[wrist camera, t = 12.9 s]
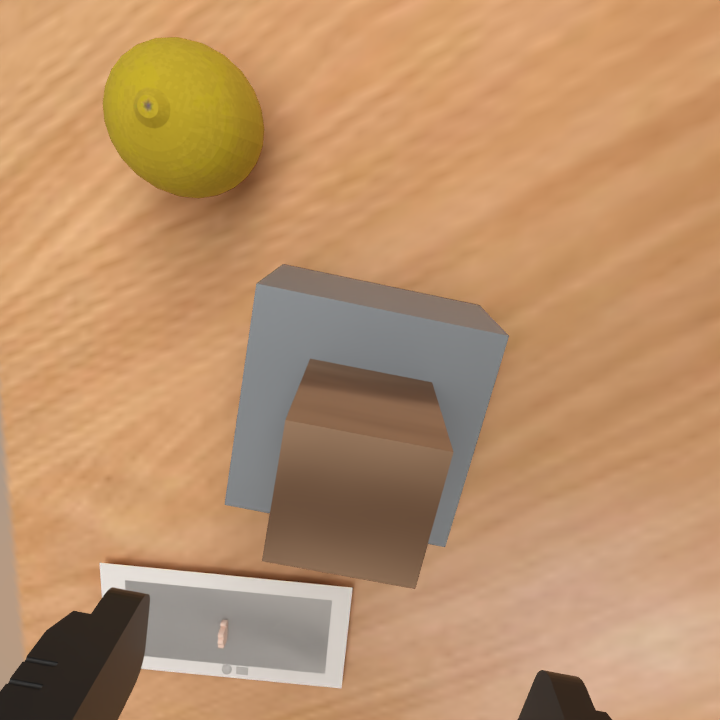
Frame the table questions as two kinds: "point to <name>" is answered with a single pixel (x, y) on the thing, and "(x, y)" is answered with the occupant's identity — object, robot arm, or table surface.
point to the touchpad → (240, 625)
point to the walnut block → (358, 475)
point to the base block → (361, 350)
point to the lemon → (183, 117)
